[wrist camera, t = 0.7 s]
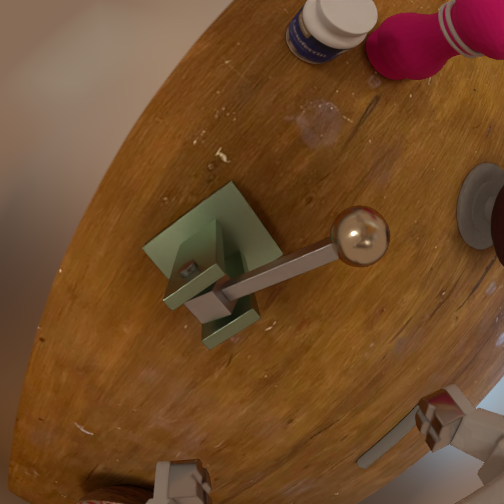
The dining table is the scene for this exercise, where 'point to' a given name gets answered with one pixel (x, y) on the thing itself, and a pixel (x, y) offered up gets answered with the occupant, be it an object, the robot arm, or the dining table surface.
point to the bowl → (117, 495)
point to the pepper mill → (436, 38)
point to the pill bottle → (329, 28)
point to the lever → (301, 261)
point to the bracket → (213, 256)
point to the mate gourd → (483, 208)
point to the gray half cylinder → (388, 440)
